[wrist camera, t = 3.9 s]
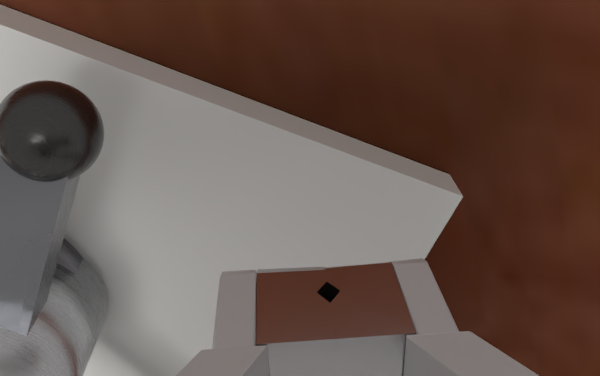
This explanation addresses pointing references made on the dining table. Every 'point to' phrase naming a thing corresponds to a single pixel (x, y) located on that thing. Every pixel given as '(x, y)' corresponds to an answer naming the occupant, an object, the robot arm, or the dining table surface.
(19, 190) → the capstan
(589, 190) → the dining table surface
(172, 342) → the stand
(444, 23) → the dining table surface
